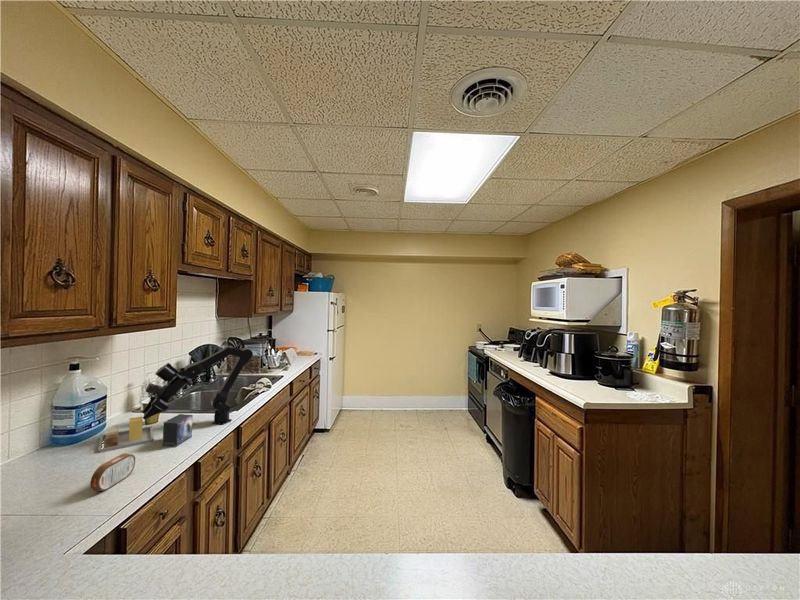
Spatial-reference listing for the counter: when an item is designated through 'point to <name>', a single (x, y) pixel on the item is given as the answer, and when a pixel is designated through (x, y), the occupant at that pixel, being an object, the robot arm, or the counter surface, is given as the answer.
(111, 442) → the walnut block
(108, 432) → the off-white block
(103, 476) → the tin
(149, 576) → the counter surface
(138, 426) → the mustard box
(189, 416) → the small box
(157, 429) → the mat
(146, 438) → the tray
